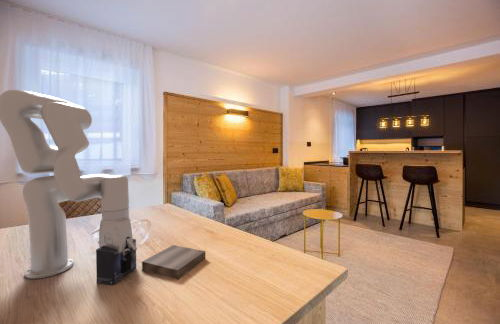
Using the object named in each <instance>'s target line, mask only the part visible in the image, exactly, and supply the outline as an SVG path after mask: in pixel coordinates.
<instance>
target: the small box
mask: <svg viewBox="0 0 500 324" xmlns="http://www.w3.org/2000/svg"><path fill="white" fill-rule="evenodd" d="M133 244H134V245H135V246H136V247H137V239H135V238H133ZM125 249H126V247H125ZM125 249H124V250H125ZM124 253H125V255H126V254H127V251H125V252H124ZM95 254H96V255H95V258H96V259H95V261H96V266H95V267H96V280H95V281H96V283H97V284H103V285H110V286H114V285H116V284H117V283H118V282H119V281H122V279H124V278H125V277H126V276H128V275H130V274H131V273H132V272H133V271H135V270H137V250H136V251H135V253H134V255H133V256H132V258H131V270H129V271H127V272H125V273H121V261H122V257H121V253H119V254H118V253H117V249H114V248H110V247H106V246H102V247H100V248H99V247H98V248H96V249H95Z"/></svg>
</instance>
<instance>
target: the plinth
mask: <svg viewBox="0 0 500 324" xmlns="http://www.w3.org/2000/svg"><path fill="white" fill-rule="evenodd" d="M205 260H206V251H205V250H200V249H197V248H196V249H195V248H190V247H186V246H180V245H175V244H172V245H170V246H169V247H167V248H165V249H163V250H161V251H159V252H158V253H155V254H154V255H152V256H150V257H148V258H146V259H144V260H143V261H141V271H143V272H146V273H147V272H148V273H152V274H156V275H159V276H163V277H167V278H169V279H174V280H180V279H181V278H182V277H184V276H185V275H187V274H188V273H189V272H191V270H193V269H195V268H197V266H199V264H201V263H202V262H204V261H205Z"/></svg>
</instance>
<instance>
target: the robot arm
mask: <svg viewBox="0 0 500 324" xmlns="http://www.w3.org/2000/svg"><path fill="white" fill-rule="evenodd" d="M32 119H37V120H43V122H44V125H45V126H46V128H47V130H48V132H49V134H50V137H51V138H52V141H53V142H54V146H53V145H49V143H48V142H47V139H46V137H45V134H44V132H43V130H42V129H41V128H40V127H39V126H38V125H37V124H36V123H35V122H34V121H32ZM92 122H93V118H92V115H91V114H90V111H89V110H88V109H86V108H85V107H83V106H82V105H78V104H75V103H73V102H70V101H67V100H65V99H61V98H59V97H55V96H52V95H47V94H42V93H38V92H33V91H29V90H24V89H8V90H6V91H4V92H2V93H1V94H0V123H1V125H2V126H3V128H4V130H5V131H6V133H7V134H8V137H9V139H10V141H11V146H12V148H13V150H14V153H15V156H16V157H15V158H16V160H17V163H18V166H19V167H20V169H21V170H22V171H23V172H24V173H25V174H28V175H40V174H41V175H42V174H53V175H47V176H46V175H45V176H40V177H34V178H33V179H30V180H28V181H27V182H26V183H25V184H24V185H23V187H22V198H23V200H24V203H25V208H26V211H27V218H28V219H27V220H28V233H29V234H28V235H29V250H30V251H29V253H30V257H29V260H30V267H28V268H27V269H26V270H25V271H24V277H25V278H28V279H30V280H31V279H32V280H33V279H35V280H36V279H42V278H49V277H52V276H55V275H58V274H62V273H63V272H65V271H67V270H69V269H70V268H72V267H73V265H74V264H75V263H74V259H72V258H70V257H68V253H69V252H68V235H67V232H68V231H67V217H66V212H65V211H64V209H63V208H62V207H61V206H60V203H64V202H68V201H71V202H79V203H80V202H84V201H87V200H92V199H96V198H100V204H101V219H100V224H99V231H98V242H97V243H98V248H100V247H102V246H106V247H110V248H114V249H117V253H118V254H119V253H121V257H122V261H121V273H125V272H127V271H129V270H131V258H132V256H133V255H134V253H135V251H136V252H137V249H138V248H137V245H136V246H135V245H134V244H133V239H134V238H133V229H132V228H133V227H132V224H131V218H130V198H129V197H130V195H129V179H128V177H127V176H126V175H123V174H105V173H95V174H85V175H82V172H81V169H80V166H79V165H78V161H77V159H76V155H77V154H79V153H81V152H83V151H85V150H86V149H87V148H89V146H90V143H89V142H90V141H89V140H88V138H87V136H86V134H85V130H87V129H89V128H90V127H91V126H92ZM125 247H126V249H125ZM124 249H125V250H124ZM125 251H127V254H126V255H125V253H124V252H125Z"/></svg>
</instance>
